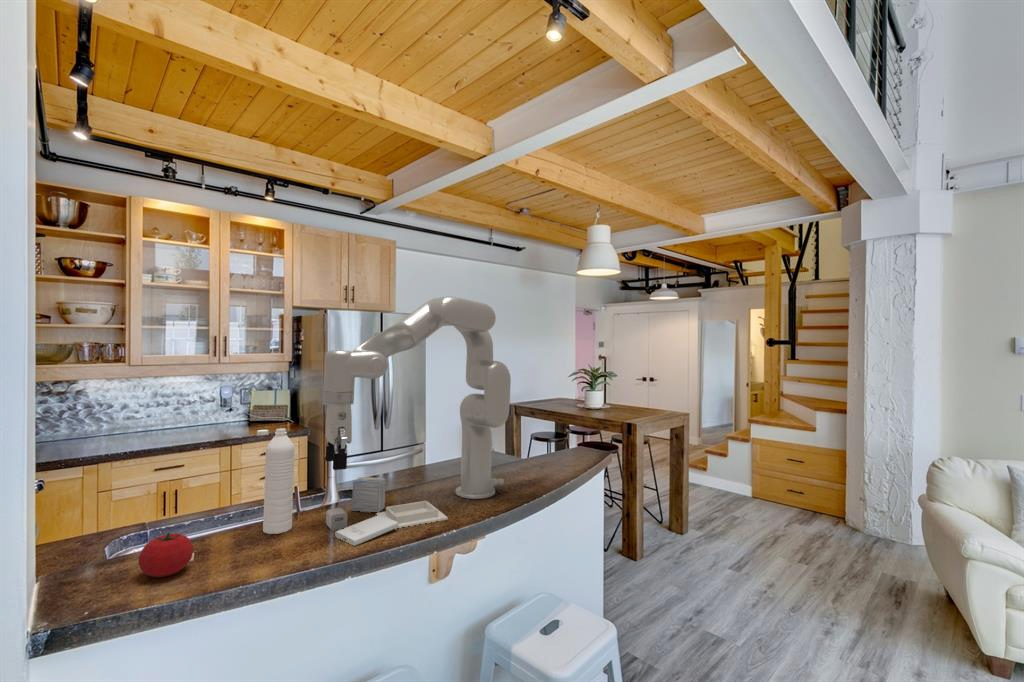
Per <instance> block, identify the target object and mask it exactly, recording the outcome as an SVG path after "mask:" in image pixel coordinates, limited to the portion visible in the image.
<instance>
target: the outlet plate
mask: <svg viewBox="0 0 1024 682" xmlns="http://www.w3.org/2000/svg"><path fill="white" fill-rule="evenodd" d="M376 515H382V516H384V517H387V518H389V519H392V520H394V521H397V522H398V528H399V529H403V528H402V527H405V528H409V527H408V526H410V527H415V526H414V525H416V526H420V525H419V524H421V525H426V524H425V523H427V524H431V522H432V523H437V522H436V521H438V522H442V521H446V520H447V521H448V520H449V519H448V516H447V515H446V514H444V513H443V512H442V511H441V510H439V509H438V508H437V507H436V506H434V505H433V504H432V503H430V502H429V501H427V500H422V501H415V502H409V503H405V504H397V505H390V506H389V505H388V506H385V511H381V512H379V513H375V516H376ZM395 530H398V529H397V528H396V529H395Z"/></svg>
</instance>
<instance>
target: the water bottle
mask: <svg viewBox="0 0 1024 682" xmlns="http://www.w3.org/2000/svg"><path fill="white" fill-rule="evenodd" d="M287 433H288V431H287V428H283V427H282V428H281V427H280V428H276V429H275V433H274V434H275V435H274V436H273V438H272V439H271V440H270V441H269V443H268V444H267V446H266V448H265V460H264V461H265V469H264V472H265V473H264V486H263V487H264V492H263V495H264V499H263V505H264V506H263V517H262V518H263V519H262V520H263V523H262V531H263V533H264V534H268V535H273V534H274V535H279V534H282V533H287V532H288V531H290V530H292V528H293V508H294V501H293V499H294V495H293V494H294V480H295V479H294V472H295V471H294V469H295V468H294V467H295V451H296V449H295V445H294V443H293V441H292V440H291V439H290V437H289V436H288V435H287ZM256 435H257V436H267V435H269V429H258V430H256Z"/></svg>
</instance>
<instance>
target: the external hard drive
mask: <svg viewBox="0 0 1024 682" xmlns="http://www.w3.org/2000/svg"><path fill="white" fill-rule="evenodd" d="M396 528H398V522H397V521H394V520H392V519H389V518H387V517H384V516H382V515H377V516H376V515H375V516H373V517H369V518H367V519H365V520H362V521H360V522H357V523H354V524H352V525H349V526H347V527H346V528H344V529H339V530H335V532H334V537H335V538H336V539H339V540H340V539H341V540H340V541H342V540H343V541H342V542H344V541H345V542H344V543H346V542H347V543H346V544H348V543H349V544H348V545H350V544H351V545H350V546H352V545H353V546H352V547H354V546H355V547H356V546H358V545H360V544H362V543H363V544H364V542H367V541H369V540H372V539H374V538H376V537H380V536H382V535H383V534H386V533H388V532H391V531H393V529H394V530H397V529H396Z"/></svg>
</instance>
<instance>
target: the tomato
mask: <svg viewBox="0 0 1024 682" xmlns="http://www.w3.org/2000/svg"><path fill="white" fill-rule="evenodd" d="M193 554H194V546H193V542H192V541H191V539H190V538H189V537H188V536H186V535H185V532H184V533H169V532H167V534H163V535H159V536H158V537H155V538H154V539H151V540H150V541H148V542H147V543H146V544H145V545H144V547H142V549H141V550H140V554H139V555H138V556H139V557H138V561H137V563H138V565H139V569H140V570H141V571H142V572H143V573H144V575H147V576H149V577H152V578H164V577H169V576H172V575H174V574H177V573H178V572H180V571H181V570H182V569H184V568H185V567H186V566H187V565H188V564H189V563H190V561H191V560H192V557H193Z"/></svg>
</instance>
